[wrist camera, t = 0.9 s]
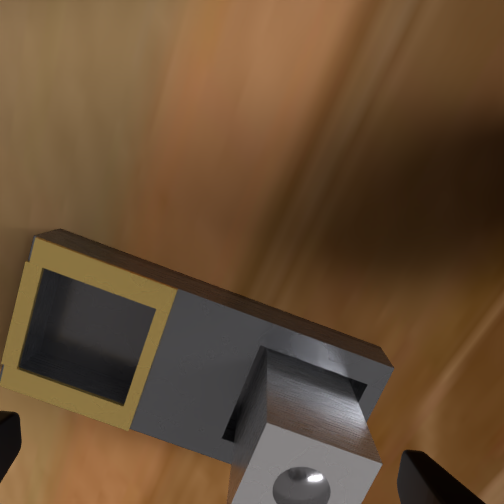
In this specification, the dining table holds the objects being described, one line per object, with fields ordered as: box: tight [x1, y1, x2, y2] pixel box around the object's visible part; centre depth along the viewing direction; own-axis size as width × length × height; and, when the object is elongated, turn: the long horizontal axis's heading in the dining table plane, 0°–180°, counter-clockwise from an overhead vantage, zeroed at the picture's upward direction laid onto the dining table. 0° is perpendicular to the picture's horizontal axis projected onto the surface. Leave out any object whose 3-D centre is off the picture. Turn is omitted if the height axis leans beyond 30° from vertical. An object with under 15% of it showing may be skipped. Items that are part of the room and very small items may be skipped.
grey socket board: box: [0, 229, 394, 464], centre depth 21 cm, size 20×9×3 cm, turn 69°
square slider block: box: [227, 347, 382, 504], centre depth 18 cm, size 5×5×7 cm
